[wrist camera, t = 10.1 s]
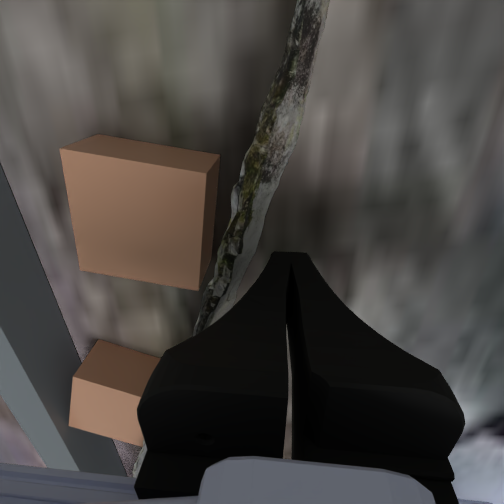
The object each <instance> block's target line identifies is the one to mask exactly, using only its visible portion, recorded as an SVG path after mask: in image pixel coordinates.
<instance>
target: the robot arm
mask: <svg viewBox="0 0 504 504" xmlns="http://www.w3.org/2000/svg"><path fill="white" fill-rule="evenodd" d="M286 324H287V329H288V340H289V350H290V360H291V371H292V460H289V459H283V450H284V439H285V427H286V416H287V405H288V361H287V341H286ZM137 418H138V422H139V425H140V428H141V431H142V434H143V438H144V441H145V444H146V447H147V451H146V454H145V457H144V460H143V462H142V465H141V468H140V471H139V473H138V476H137V478H135V477H126V476H116V475H107V474H98V473H89V472H80V471H71V470H62V469H52V468H43V467H34V466H25V465H16V464H7V463H0V504H492V503H488V502H479V501H470V500H460V499H457V497H456V494H455V492H454V489H453V486H452V484H451V481H452V482H453V480H454V479H455V478H454V472H453V470H452V467H451V465H450V462H449V460H448V456H449V455H450V453H451V451H452V449H453V448H454V446H455V444H456V443H457V441H458V439H459V438H460V436H461V434H462V432H463V429H464V426H465V419H464V413H463V411H462V409H461V407H460V405H459V403H458V401H457V399H456V397H455V395H454V394H453V392H452V390H451V388H450V386H449V385H448V383H447V382H446V380H445V379H444V377H443V376H442V374H441V372H440V371H439V370H438V369H436V368H434V367H432V366H431V365H429V364H427V363H425V362H423V361H422V360H420V359H418V358H416V357H414V356H413V355H411V354H409V353H407V352H406V351H404V350H402V349H401V348H399V347H398V346H396V345H395V344H393V343H392V342H390V341H389V340H387V339H386V338H384V337H383V336H381V335H380V334H379V333H377V332H376V331H375V330H373V329H372V328H371V327H370V326H368V325H367V324H366V323H364V322H363V321H362V320H361V319H360V318H358V317H357V316H356V315H355V314H354V313H353V312H352V311H351V310H350V309H349V308H348V307H347V306H346V305H345V304H344V303H343V302H342V301H341V300H340V299H339V298H338V297H337V295H336V294H335V293H334V292H333V291H332V289H331V288H330V287H329V286H328V284H327V283H326V282H325V280H324V279H323V277H322V276H321V275H320V273H319V272H318V270H317V269H316V267H315V265H314V264H313V262H312V260H311V258H310V257H309V255H308V254H307V253H300V252H278V251H274V252H273V253H272V254H271V256H270V259H269V261H268V263H267V265H266V266H265V268H264V270H263V271H262V273H261V274H260V276H259V277H258V279H257V280H256V282H255V283H254V284H253V285H252V287H251V288H250V289H249V290H248V292H247V293H246V294H245V295H244V296H243V297H242V298H241V299H240V300H239V301H238V302H237V303H236V304H235V305H234V306H233V307H232V308H231V309H230V310H229V311H228V312H227V313H225V314H224V315H223V316H222V317H221V318H220V319H218V320H217V321H216V322H214V323H213V324H212V325H210V326H209V327H207V328H206V329H204V330H203V331H201V332H200V333H198V334H197V335H195V336H193V337H191V338H190V339H188V340H186V341H184V342H182V343H180V344H178V345H176V346H174V347H172V348H170V349H168V350H166V351H165V353H164V354H163V356H162V358H161V359H160V361H159V362H158V364H157V366H156V367H155V369H154V371H153V372H152V374H151V376H150V378H149V380H148V382H147V385H146V387H145V389H144V392H143V394H142V397H141V399H140V401H139V404H138V407H137Z"/></svg>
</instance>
